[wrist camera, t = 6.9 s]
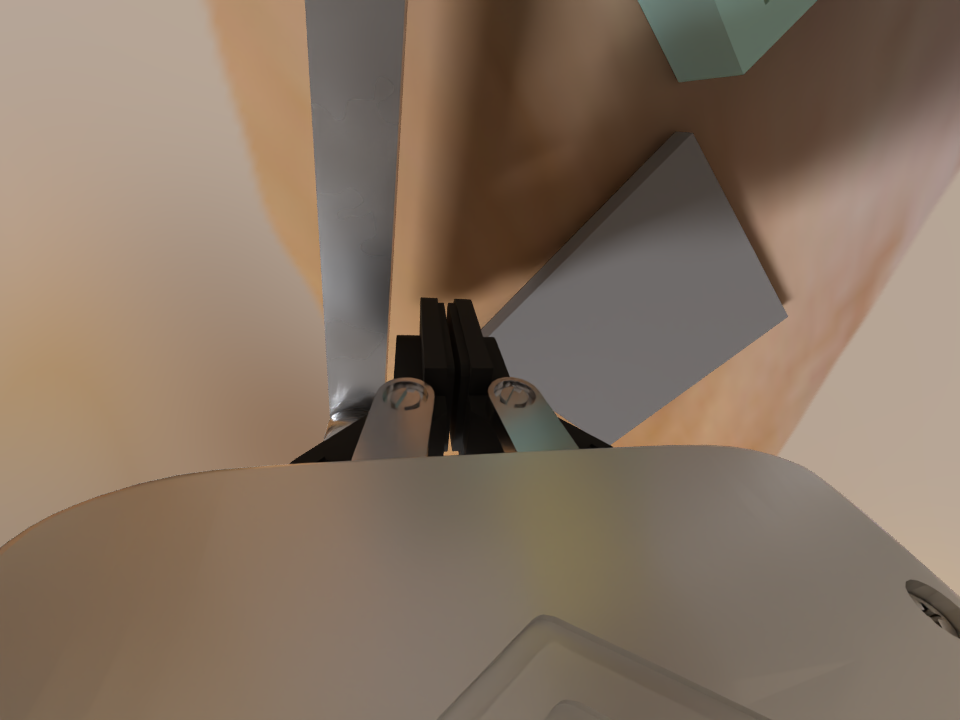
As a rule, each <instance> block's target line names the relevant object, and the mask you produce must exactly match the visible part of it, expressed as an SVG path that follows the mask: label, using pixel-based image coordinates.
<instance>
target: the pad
mask: <svg viewBox="0 0 960 720" xmlns="http://www.w3.org/2000/svg"><path fill="white" fill-rule="evenodd" d="M787 317H788V315H787V313H786V312H785V310H784V308H783V306H782V304H781V302H780V300H779V298H778V296H777V294H776V292H775V290H774V288H773V287H772V285H771V283H770V281H769V279H768V277H767V275H766V273H765V271H764V269H763V267H762V265H761V263H760V261H759V260H758V258H757V256H756V254H755V252H754V250H753V248H752V246H751V244H750V242H749V240H748V238H747V236H746V235H745V233H744V231H743V229H742V227H741V225H740V223H739V221H738V219H737V217H736V215H735V213H734V211H733V210H732V208H731V206H730V204H729V202H728V200H727V198H726V196H725V194H724V192H723V190H722V188H721V186H720V185H719V183H718V181H717V179H716V177H715V175H714V173H713V171H712V169H711V167H710V165H709V163H708V161H707V160H706V158H705V156H704V154H703V152H702V150H701V148H700V146H699V144H698V142H697V140H696V138H695V136H694V134H693V133H689V132H675V133H674V134H673V135H672V136H671V137H670V138H669V139H668V140H667V141H666V142H665V143H664V144H663V145H662V146H661V147H660V148H659V149H658V150H657V151H656V152H655V153H654V154H653V155H652V156H651V157H650V158H649V159H648V160H647V161H646V162H645V163H644V164H643V165H642V166H641V167H640V168H639V169H638V170H637V171H636V172H635V173H634V174H633V175H632V177H631V178H630V179H629V180H628V181H627V182H626V183H625V184H624V185H623V186H622V187H621V188H620V189H619V190H618V191H617V192H616V193H615V194H614V195H613V196H612V197H611V198H610V199H609V200H608V201H607V202H606V203H605V204H604V205H603V206H602V207H601V208H600V209H599V210H598V211H597V212H596V213H595V214H594V215H593V216H592V217H591V218H590V219H589V220H588V221H587V222H586V223H585V224H584V225H583V226H582V227H581V228H580V229H579V231H578V232H577V233H576V234H575V235H574V236H573V237H572V238H571V239H570V240H569V241H568V242H567V243H566V244H565V245H564V246H563V247H562V248H561V249H560V250H559V251H558V252H557V253H556V254H555V255H554V256H553V257H552V258H551V259H550V260H549V261H548V262H547V263H546V264H545V265H544V266H543V267H542V268H541V269H540V270H539V271H538V272H537V273H536V274H535V275H534V276H533V277H532V278H531V279H530V280H529V281H528V282H527V283H526V285H525V286H524V287H523V288H522V289H521V290H520V291H519V292H518V293H517V294H516V295H515V296H514V297H513V298H512V299H511V300H510V301H509V302H508V303H507V304H506V305H505V306H504V307H503V308H502V309H501V310H500V311H499V312H498V313H497V314H496V315H495V316H494V317H493V318H492V319H491V320H490V321H489V322H488V323H487V324H486V325H485V326H484V327H483V328H482V329H481V332H482V335H483V337H495V339H496V341H497V344H498V347H499V349H500V352H501V355H502V357H503V360H504V362H505V365H506V368H507V370H508V373H509V376H510V377H515V378H520V379H523V380H525V381H528V382H530V383H531V384H533V385H534V386H535V387H536V388H537V389H538V390H539V391H540V393H541V394H542V395H543V397H544V398H545V400H546V401H547V403H548V404H549V406H550V407H551V408H552V410H553V411H555V412H556V413H558V414H559V415H561V416H562V417H564V418H565V419H567V420H568V421H570V422H571V423H573V424H574V425H575V426H577V427H578V428H580V429H581V430H583V431H584V432H586V433H588V434H590V435H592V436H594V437H596V438H598V439H600V440H602V441H603V442H605V443H607V444H609V445H611V444H612V443H614V442H615V441H617V440H618V439H619V438H621V437H622V436H623V435H625V434H626V433H628V432H629V431H630V430H632V429H633V428H635V427H636V426H637V425H639V424H640V423H641V422H643V421H644V420H646V419H647V418H648V417H650V416H651V415H653V414H654V413H655V412H657V411H658V410H659V409H661V408H662V407H664V406H665V405H666V404H668V403H669V402H671V401H672V400H673V399H675V398H676V397H677V396H679V395H680V394H682V393H683V392H684V391H686V390H687V389H689V388H690V387H691V386H693V385H694V384H696V383H697V382H698V381H700V380H701V379H702V378H704V377H705V376H707V375H708V374H709V373H711V372H712V371H714V370H715V369H716V368H718V367H719V366H720V365H722V364H723V363H725V362H726V361H727V360H729V359H730V358H732V357H733V356H734V355H736V354H737V353H738V352H740V351H741V350H743V349H744V348H745V347H747V346H748V345H750V344H751V343H752V342H754V341H755V340H756V339H758V338H759V337H761V336H762V335H763V334H765V333H766V332H768V331H769V330H770V329H772V328H773V327H774V326H776V325H777V324H779V323H780V322H781V321H783V320H784V319H786V318H787Z"/></svg>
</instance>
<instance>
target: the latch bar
mask: <svg viewBox="0 0 960 720" xmlns="http://www.w3.org/2000/svg"><path fill="white" fill-rule="evenodd" d="M407 6H408V0H305V9H306V26H307V42H308V59H309V75H310V92H311V108H312V125H313V142H314V158H315V175H316V191H317V208H318V224H319V241H320V257H321V274H322V290H323V307H324V324H325V340H326V355H327V356H326V357H327V373H328V390H329V406H330V420H329V422H328V426H327V429H326V433H325V437H324V441H325V440H327V439H328V438H330V437H331V436H333V435H335V434H336V433H338V432H339V431H341V430H342V429H344V428H346V427H347V426H349V425H350V424H352V423H354V422H355V421H357V420H358V419H360V418H362V417H363V416H365V415H366V414H368V413H369V411H370V408H371V405H372V403H373V400H374V397H375V394H376V392H377V391H378V389H379V387H380V386H382V385H383V384H384V383H386V380H387V363H388V345H389V327H390V309H391V291H392V273H393V256H394V238H395V220H396V202H397V184H398V166H399V148H400V131H401V113H402V95H403V77H404V59H405V41H406V24H407Z"/></svg>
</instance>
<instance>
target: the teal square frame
mask: <svg viewBox="0 0 960 720" xmlns="http://www.w3.org/2000/svg"><path fill="white" fill-rule="evenodd" d="M816 1H817V0H638V2H639V4H640V6H641V8H642V10H643V12H644V14H645V16H646V18H647V20H648V22H649V24H650V26H651V28H652V30H653V32H654V34H655V36H656V38H657V40H658V42H659V44H660V46H661V48H662V50H663V52H664V54H665V56H666V58H667V60H668V62H669V64H670V66H671V68H672V70H673V72H674V74H675V76H676V78H677V80H678V82H686V81H694V80H703V79H711V78H720V77H728V76H737V75H744V74H745V73H746V72H747V71H748V70H749V69H750V68H751V67H752V66H753V65H754V64H755V63H756V62H757V61H758V60H759V59H760V58H761V57H762V56H763V55H764V54H765V53H766V52H767V51H768V50H769V49H770V48H771V47H772V46H773V45H774V44H775V43H776V41H777V40H778V39H779V38H780V37H781V36H782V35H783V34H784V33H785V32H786V31H787V30H788V29H789V28H790V27H791V26H792V25H793V24H794V23H795V22H796V21H797V20H798V19H799V18H800V17H801V16H802V15H803V14H804V13H805V12H806V11H807V10H808V9H809V8H810V7H811V6H812V5H813V4H814V3H815V2H816Z"/></svg>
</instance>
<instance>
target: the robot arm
mask: <svg viewBox="0 0 960 720" xmlns="http://www.w3.org/2000/svg"><path fill="white" fill-rule="evenodd" d="M449 431H450V438H451V446H452V451H458V452H459V455H451V456H443V454H444V452H446V451H448V441H449ZM0 720H960V597H959V596H958V595H957V594H956V593H955V592H954V591H953V590H952V589H950V588H949V587H948V586H947V585H946V584H945V583H944V582H943V581H941V580H940V579H939V578H938V577H937V576H936V575H935V574H934V573H933V572H931V571H930V570H929V569H928V568H927V567H926V566H925V565H923V564H922V563H921V562H920V561H919V560H918V559H917V558H916V557H915V556H913V555H912V554H911V553H910V552H909V551H908V550H907V549H906V548H904V547H903V546H902V545H901V544H900V543H899V542H897V540H895V539H894V538H893V537H892V536H891V535H890V534H889V533H888V532H886V531H885V530H884V529H883V528H882V527H881V526H879V525H878V524H877V523H876V522H875V521H874V520H872V519H871V518H870V517H869V516H868V515H867V514H865V513H864V512H863V511H862V510H860V509H859V508H858V507H857V506H856V505H855V504H853V503H852V502H851V501H850V500H849V499H847V498H846V497H845V496H844V495H842V494H841V493H840V492H838V491H837V490H836V489H835V488H833V487H832V486H831V485H830V484H828V483H827V482H826V481H824V480H823V479H822V478H820V477H819V476H817V475H816V474H815V473H813V472H812V471H810V470H808V469H807V468H805V467H803V466H801V465H799V464H796V463H794V462H791V461H789V460H786V459H783V458H780V457H777V456H774V455H771V454H767V453H763V452H759V451H755V450H751V449H744V448H738V447H731V446H717V445H663V446H640V447H617V448H614V447H612V446H610V445H609V444H607V443H605V442H603V441H602V440H600V439H598V438H596V437H594V436H592V435H590V434H588V433H586V432H584V431H583V430H581V429H579V428H577V427H575V426H573V425H571V424H569V423H567V422H565V421H564V420H562V419H560V418H558V417H557V416H556V414H555V413H554V411H553V410H552V408H551V407H550V406H549V404H548V403H547V401H546V400H545V398H544V397H543V395H542V394H541V393H540V391H539V390H538V389H537V388H536V387H535V386H534V385H533V384H531V383H530V382H528V381H525V380H523V379H520V378H515V377H510V376H509V373H508V370H507V368H506V365H505V362H504V360H503V357H502V355H501V352H500V349H499V347H498V344H497V341H496V339H495V337H483V335H482V332H481V329H480V325H479V322H478V319H477V316H476V313H475V310H474V307H473V304H472V301H471V300H469V299H454V303H448V307H447V319H446V313H445V307H444V303H438V299H437V298H421V301H420V336H415V335H397V338H396V353H395V369H394V379H393V380H390V381H388V382H386V383H384V384H383V385H382V386H380V387H379V389H378V391H377V392H376V394H375V397H374V400H373V403H372V405H371V408H370V411H369V413H368V414H366V415H365V416H363V417H362V418H360V419H358V420H357V421H355V422H354V423H352V424H350V425H349V426H347V427H346V428H344V429H342V430H341V431H339V432H338V433H336V434H335V435H333V436H331V437H330V438H328V439H327V440H325V441H323V442H322V443H320V444H319V445H317V446H315V447H314V448H312V449H311V450H309V451H307V452H306V453H304V454H303V455H301V456H299V457H298V458H296V459H295V460H294V461H292V462H291V463H290V464H283V465H269V466H258V467H244V468H233V469H221V470H210V471H203V472H197V473H189V474H182V475H176V476H171V477H167V478H162V479H157V480H153V481H148V482H144V483H139V484H136V485H132V486H129V487H126V488H122V489H120V490H116V491H113V492H110V493H106V494H103V495H100V496H97V497H94V498H91V499H88V500H86V501H83V502H81V503H78V504H75V505H73V506H71V507H68V508H66V509H64V510H61V511H59V512H57V513H54V514H52V515H50V516H48V517H46V518H45V519H43V520H41V521H39V522H37V523H36V524H33V525H32V526H30V527H28V528H27V529H25V530H24V531H22V532H21V533H20V534H18V535H16V536H15V537H14V538H12V539H11V540H9V541H8V542H6V543H5V544H4V545H3V546H1V547H0Z"/></svg>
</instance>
